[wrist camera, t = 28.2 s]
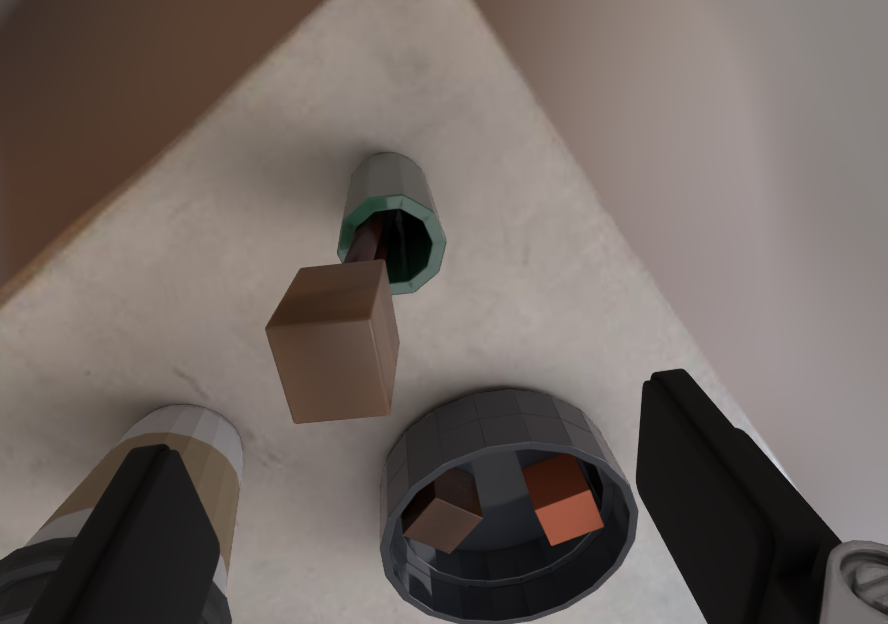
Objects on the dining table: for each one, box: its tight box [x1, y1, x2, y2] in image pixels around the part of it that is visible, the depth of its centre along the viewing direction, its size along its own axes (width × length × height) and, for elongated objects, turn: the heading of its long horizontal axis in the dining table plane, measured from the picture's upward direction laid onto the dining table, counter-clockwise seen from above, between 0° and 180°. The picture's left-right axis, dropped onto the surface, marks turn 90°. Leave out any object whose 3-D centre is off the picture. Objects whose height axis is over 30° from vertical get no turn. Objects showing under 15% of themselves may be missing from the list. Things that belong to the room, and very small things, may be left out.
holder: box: [337, 152, 446, 295], centre depth 27 cm, size 4×5×9 cm
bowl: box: [380, 389, 638, 624], centre depth 39 cm, size 17×17×6 cm
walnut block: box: [402, 467, 483, 554], centre depth 39 cm, size 4×4×4 cm
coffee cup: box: [0, 404, 244, 624], centre depth 31 cm, size 11×11×15 cm
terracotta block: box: [522, 453, 604, 546], centre depth 39 cm, size 4×4×4 cm
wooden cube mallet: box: [265, 209, 400, 424], centre depth 22 cm, size 3×3×18 cm
